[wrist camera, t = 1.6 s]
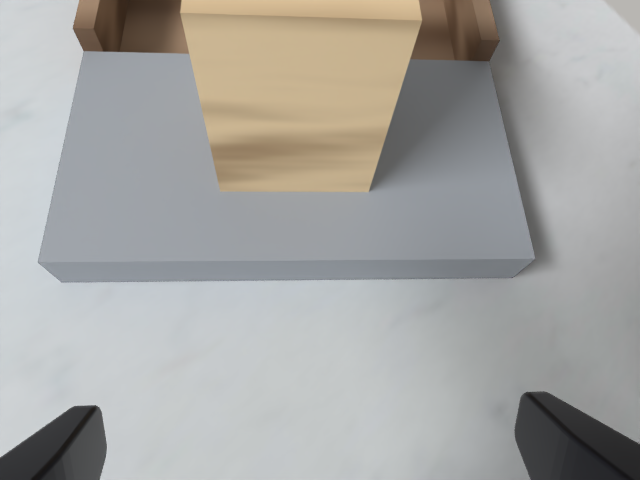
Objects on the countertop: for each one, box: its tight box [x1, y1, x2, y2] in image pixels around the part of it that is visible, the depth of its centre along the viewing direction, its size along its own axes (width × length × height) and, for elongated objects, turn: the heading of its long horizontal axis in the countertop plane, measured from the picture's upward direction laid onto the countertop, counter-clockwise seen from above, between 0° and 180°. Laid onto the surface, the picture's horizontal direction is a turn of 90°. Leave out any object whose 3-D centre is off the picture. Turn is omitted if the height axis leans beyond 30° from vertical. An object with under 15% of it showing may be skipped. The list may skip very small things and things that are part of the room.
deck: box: [38, 51, 535, 282], centre depth 26 cm, size 12×22×2 cm, turn 92°
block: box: [180, 0, 422, 192], centre depth 20 cm, size 7×7×10 cm
